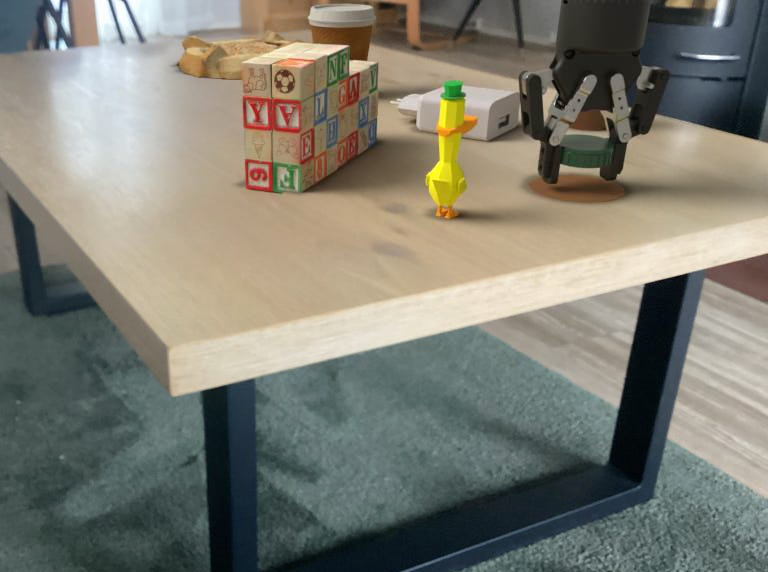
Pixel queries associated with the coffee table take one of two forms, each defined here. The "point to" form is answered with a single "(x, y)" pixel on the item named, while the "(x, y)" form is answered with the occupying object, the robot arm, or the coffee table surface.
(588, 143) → the lid
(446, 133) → the toy figure
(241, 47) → the tan flat lumpy slab
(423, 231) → the coffee table surface
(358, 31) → the disposable coffee cup
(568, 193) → the coaster
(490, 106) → the charger
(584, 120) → the jar
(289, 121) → the stack of blocks
